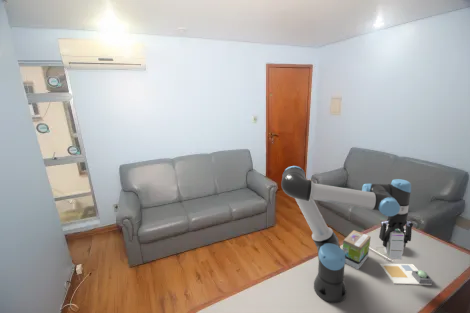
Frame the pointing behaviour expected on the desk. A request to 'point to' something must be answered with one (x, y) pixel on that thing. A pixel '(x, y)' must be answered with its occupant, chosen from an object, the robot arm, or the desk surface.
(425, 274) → the button
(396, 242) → the syrup box
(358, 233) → the tea box
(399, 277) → the white button panel
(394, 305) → the desk surface
